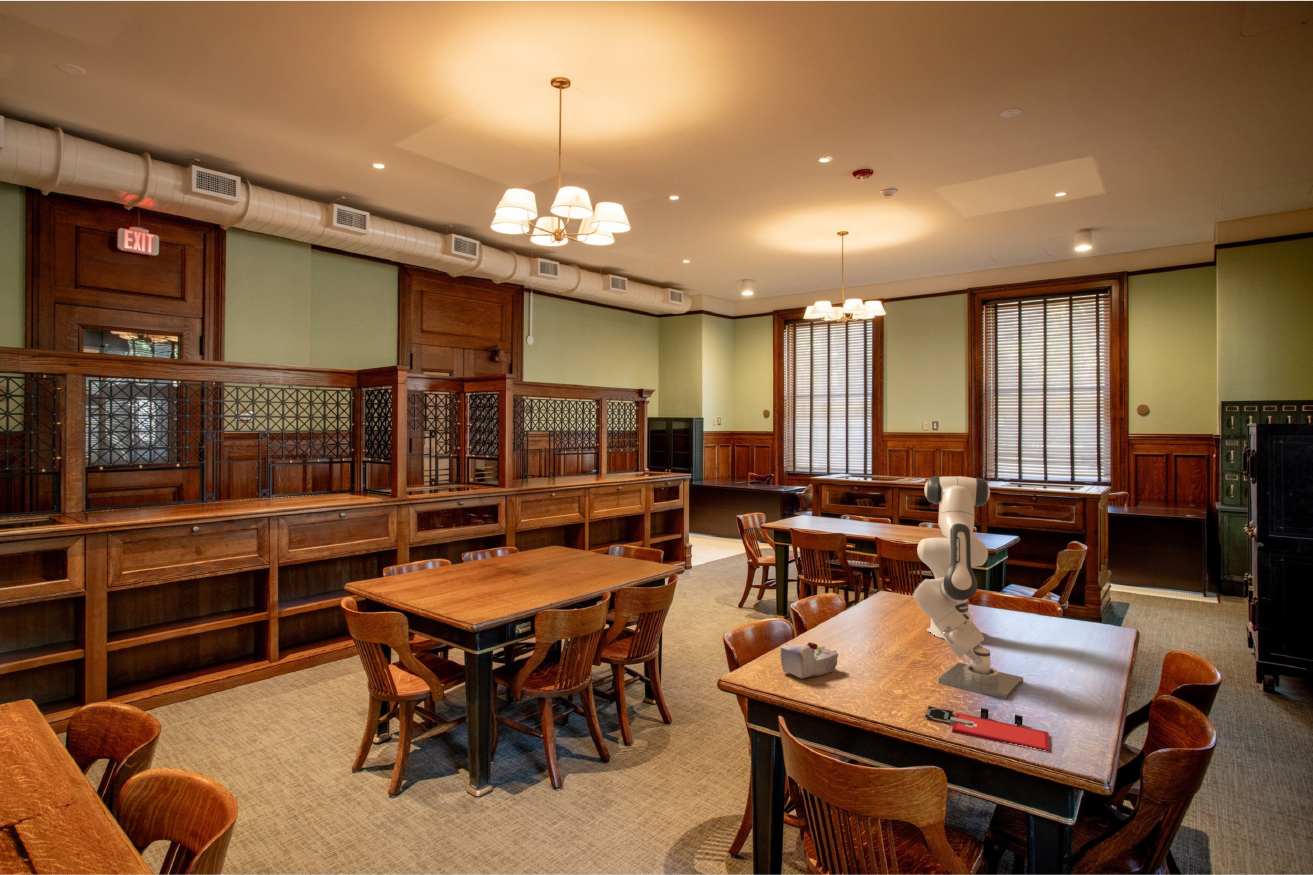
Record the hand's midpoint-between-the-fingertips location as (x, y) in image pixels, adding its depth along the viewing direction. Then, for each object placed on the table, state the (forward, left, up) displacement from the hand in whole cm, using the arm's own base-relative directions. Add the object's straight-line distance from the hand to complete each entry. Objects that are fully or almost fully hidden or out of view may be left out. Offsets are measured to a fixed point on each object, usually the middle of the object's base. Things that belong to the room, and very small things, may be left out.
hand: (983, 660), depth 212 cm
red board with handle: (+35, +10, -8) cm, 37 cm away
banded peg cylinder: (0, -1, -5) cm, 5 cm away
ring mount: (0, -1, -7) cm, 7 cm away
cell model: (+30, -46, -8) cm, 55 cm away
